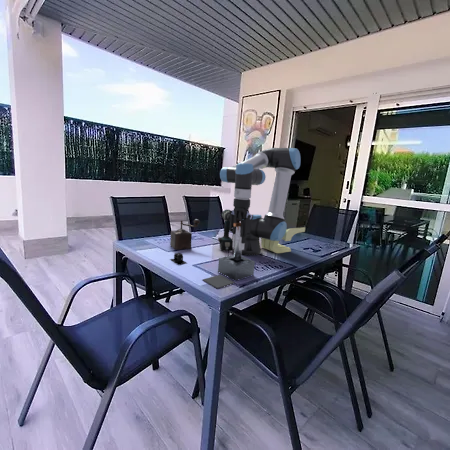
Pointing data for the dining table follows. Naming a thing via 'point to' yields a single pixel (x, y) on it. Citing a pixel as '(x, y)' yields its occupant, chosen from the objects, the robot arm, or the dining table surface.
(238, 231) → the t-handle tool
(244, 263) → the block
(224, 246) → the power drill
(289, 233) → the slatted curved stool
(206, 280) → the rubber mat
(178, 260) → the black notched block
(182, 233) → the manual coffee grinder
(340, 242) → the dining table surface
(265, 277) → the dining table surface
